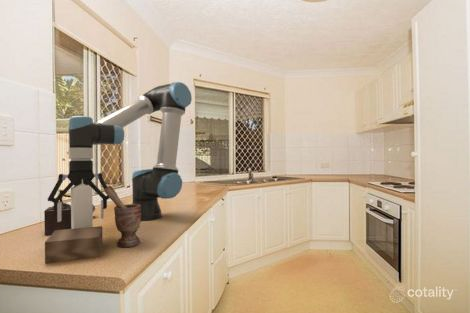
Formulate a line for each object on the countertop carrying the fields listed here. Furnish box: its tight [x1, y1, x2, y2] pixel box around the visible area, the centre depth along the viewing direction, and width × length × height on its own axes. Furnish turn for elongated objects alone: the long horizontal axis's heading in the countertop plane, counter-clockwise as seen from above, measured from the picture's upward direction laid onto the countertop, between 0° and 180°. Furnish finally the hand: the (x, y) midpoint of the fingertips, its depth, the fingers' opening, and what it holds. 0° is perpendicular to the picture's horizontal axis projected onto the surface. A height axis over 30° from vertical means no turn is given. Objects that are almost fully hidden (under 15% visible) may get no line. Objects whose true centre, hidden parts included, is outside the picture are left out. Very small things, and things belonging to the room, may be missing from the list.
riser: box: [44, 225, 103, 264], centre depth 92 cm, size 14×14×6 cm
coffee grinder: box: [43, 189, 71, 236], centre depth 119 cm, size 16×11×18 cm
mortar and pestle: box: [103, 185, 142, 248], centre depth 99 cm, size 12×9×20 cm
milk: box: [70, 179, 94, 229], centre depth 105 cm, size 6×6×22 cm
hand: (81, 219), depth 105 cm, fingers open, 13 cm apart
